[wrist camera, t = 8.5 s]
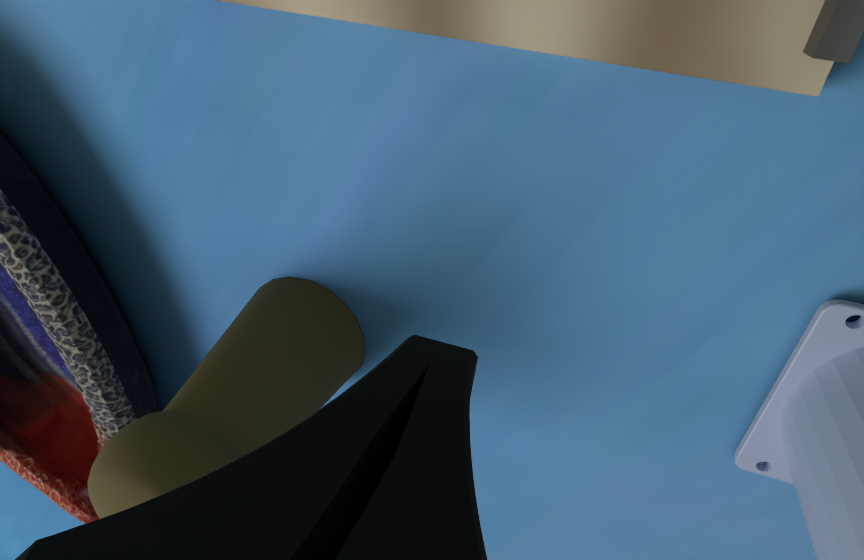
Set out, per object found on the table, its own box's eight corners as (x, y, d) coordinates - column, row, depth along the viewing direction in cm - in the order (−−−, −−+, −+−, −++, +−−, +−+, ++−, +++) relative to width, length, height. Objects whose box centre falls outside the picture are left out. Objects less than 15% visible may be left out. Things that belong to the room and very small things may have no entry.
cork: (269, 253, 25) (57, 426, 16) (384, 325, 25) (240, 540, 16) (237, 339, 28) (48, 523, 19) (338, 402, 28) (198, 616, 19)
